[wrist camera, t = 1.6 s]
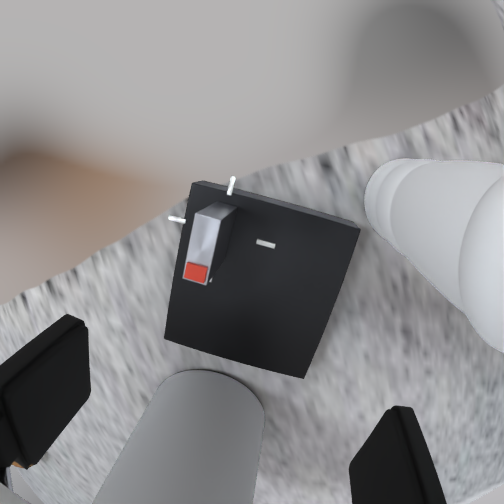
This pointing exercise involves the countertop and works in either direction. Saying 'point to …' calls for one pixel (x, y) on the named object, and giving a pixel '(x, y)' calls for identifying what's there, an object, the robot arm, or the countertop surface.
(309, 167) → the countertop surface
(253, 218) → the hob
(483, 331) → the water bottle
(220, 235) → the knob
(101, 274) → the countertop surface
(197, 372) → the cylinder vase
